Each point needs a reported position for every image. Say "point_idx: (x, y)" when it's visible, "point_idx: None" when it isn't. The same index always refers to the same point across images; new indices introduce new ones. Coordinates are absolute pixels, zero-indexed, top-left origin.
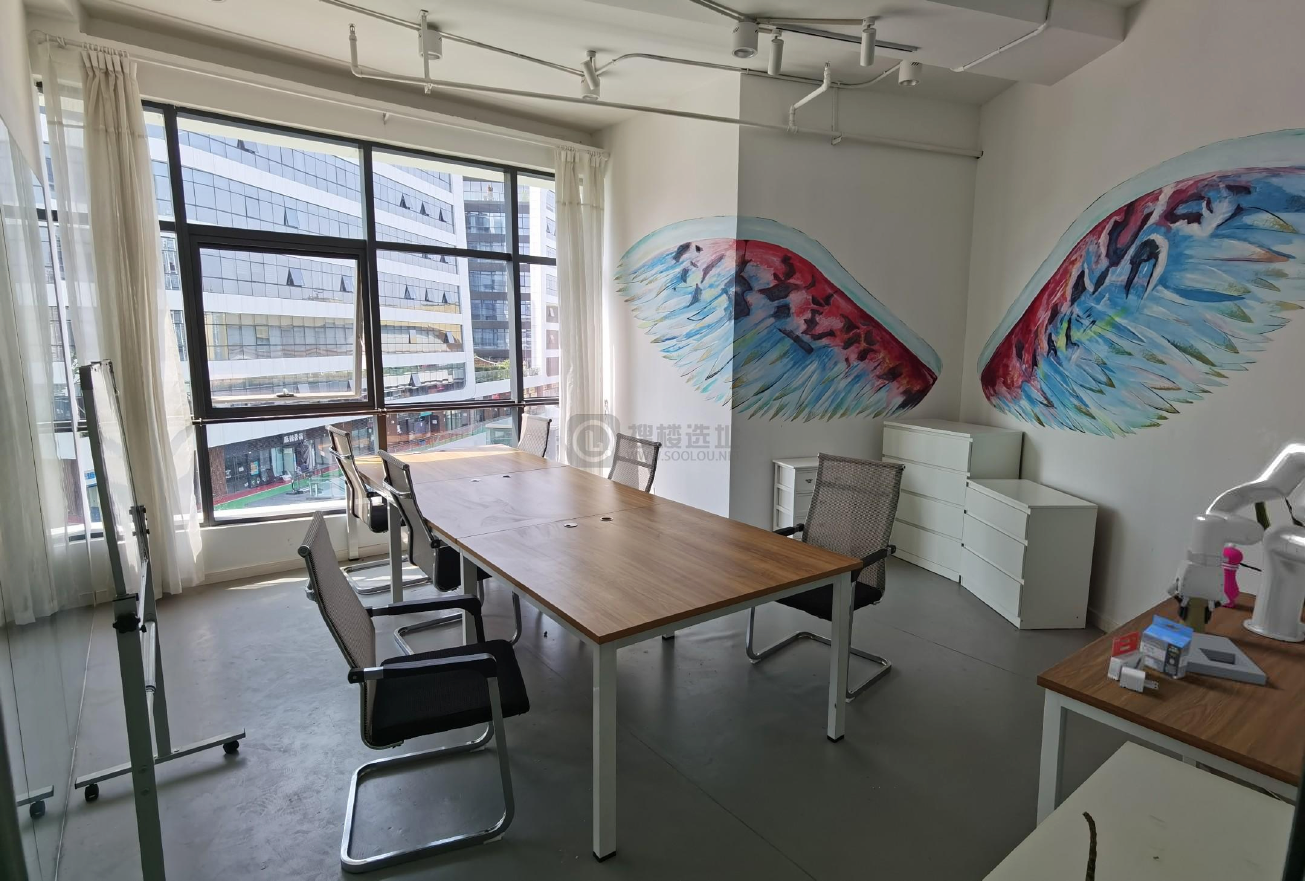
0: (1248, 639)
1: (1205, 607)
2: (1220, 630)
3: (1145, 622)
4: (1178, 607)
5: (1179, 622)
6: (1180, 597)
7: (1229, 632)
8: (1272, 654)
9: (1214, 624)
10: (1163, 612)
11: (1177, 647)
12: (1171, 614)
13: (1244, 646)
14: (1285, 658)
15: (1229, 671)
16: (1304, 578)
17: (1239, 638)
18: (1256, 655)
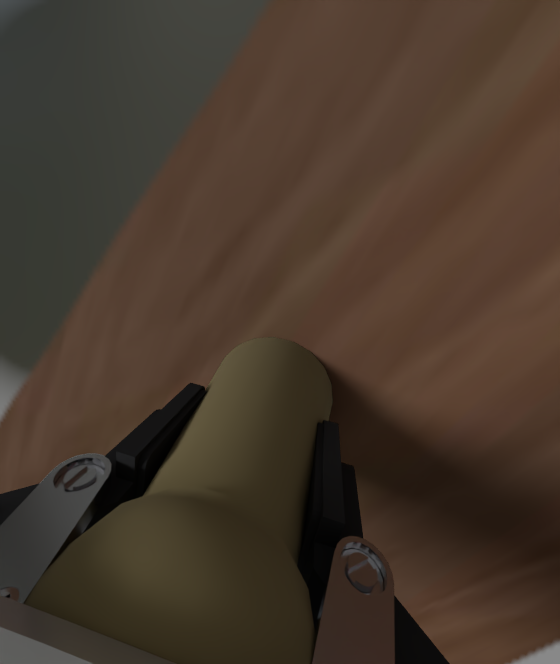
0: (556, 456)
1: (308, 570)
2: (477, 353)
3: (86, 328)
4: (122, 441)
5: (216, 371)
6: (12, 542)
7: (519, 374)
8: (510, 593)
9: (530, 246)
10: (260, 86)
11: None
12: (302, 115)
13: (434, 531)
14: (540, 622)
15: None
16: None
17: (503, 450)
18: (410, 598)
